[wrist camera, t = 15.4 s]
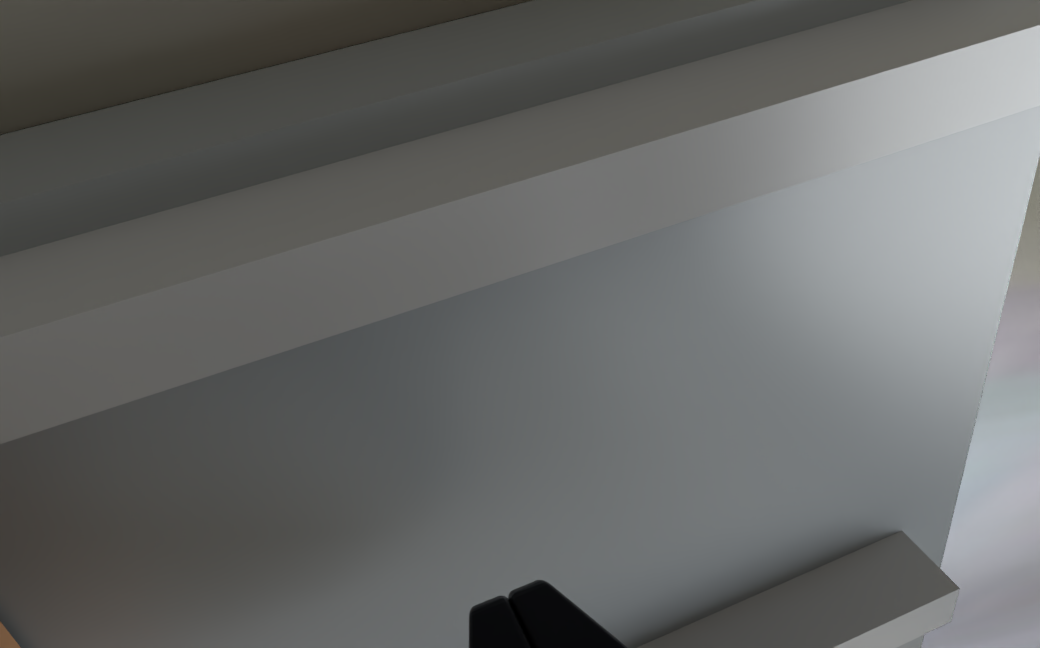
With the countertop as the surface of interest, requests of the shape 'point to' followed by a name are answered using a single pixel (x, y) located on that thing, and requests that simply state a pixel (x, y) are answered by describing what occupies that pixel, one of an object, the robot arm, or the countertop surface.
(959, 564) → the countertop surface
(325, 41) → the countertop surface
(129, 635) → the grey divided tray
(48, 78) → the countertop surface
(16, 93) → the countertop surface
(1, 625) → the lid
